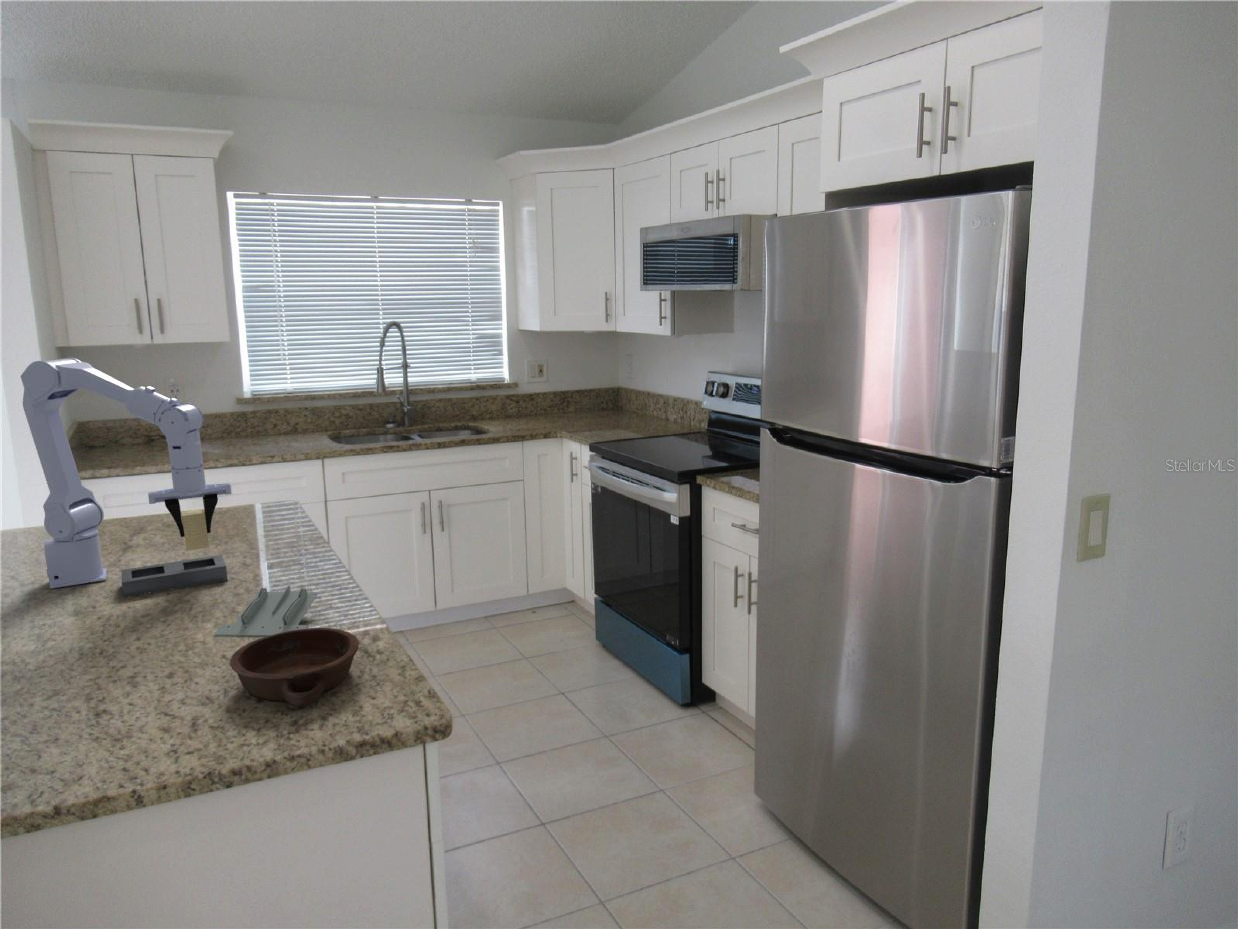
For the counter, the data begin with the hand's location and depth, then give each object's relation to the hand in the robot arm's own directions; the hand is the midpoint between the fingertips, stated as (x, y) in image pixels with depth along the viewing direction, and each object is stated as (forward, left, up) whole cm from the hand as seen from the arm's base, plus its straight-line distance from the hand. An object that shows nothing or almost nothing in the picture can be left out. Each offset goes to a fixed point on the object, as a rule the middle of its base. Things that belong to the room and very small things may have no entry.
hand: (195, 533), depth 171 cm
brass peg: (0, 0, -3) cm, 3 cm away
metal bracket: (+9, -34, -10) cm, 36 cm away
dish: (+8, -60, -10) cm, 61 cm away
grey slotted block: (-5, 0, -9) cm, 10 cm away
